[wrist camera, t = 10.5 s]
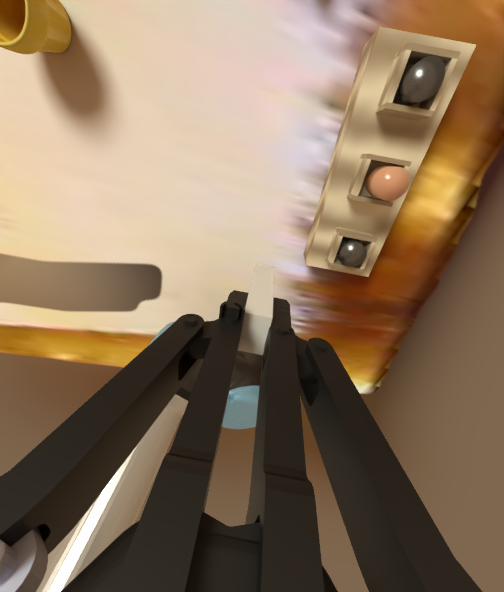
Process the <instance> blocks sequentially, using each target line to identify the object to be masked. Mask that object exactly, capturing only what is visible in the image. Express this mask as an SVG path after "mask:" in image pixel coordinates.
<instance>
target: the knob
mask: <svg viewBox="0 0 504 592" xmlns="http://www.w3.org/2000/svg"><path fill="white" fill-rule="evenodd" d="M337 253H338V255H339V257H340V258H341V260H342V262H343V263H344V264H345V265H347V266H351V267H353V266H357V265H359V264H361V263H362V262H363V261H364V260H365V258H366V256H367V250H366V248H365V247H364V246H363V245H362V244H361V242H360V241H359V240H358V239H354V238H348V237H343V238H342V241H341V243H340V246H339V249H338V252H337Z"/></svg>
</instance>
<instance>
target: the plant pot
mask: <svg viewBox="0 0 504 592" xmlns="http://www.w3.org/2000/svg"><path fill="white" fill-rule="evenodd" d="M70 42H71V25H70V21H69V18H68V15H67V13H66V11H65V9H64V7H63V6H62V4H61V3H60V1H59V0H0V47H2V48H5V49H8V50H11V51H13V52H17V53H21V54H33V53H35V52H37V51H44V52H53V53H62V52H64V51H65V50H66V49H67V48H68V47H69V45H70Z"/></svg>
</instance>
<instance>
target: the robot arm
mask: <svg viewBox="0 0 504 592" xmlns="http://www.w3.org/2000/svg"><path fill="white" fill-rule="evenodd" d="M274 272H275V267H272V266H267V265H262V264H257V263H255V267H254V271H253V276H252V280H251V285H250V289H249V293H245V292H240V291H235V290H234V291H233V292H231V293H230V294H229V297H228V300H227V302H224V303H222V304H221V306H220V314H219V319H217V320H215V321H206V322H204V320H203V318H202V317H200V316H199V315H195V314H186V315H183V316H181V317H180V318H179V319H178V320H177V321H175V322H172V323H169V324H168V325H166V326H165V327H164V328H163V329H162V330H161V331H160V332H159V333H158V334H157V335H156V337H155V338H154V339H153V340H152V341H151V343H150V344H149V345H148V346H147V348H145V349H144V350H143V351H142V352H141V353H140V354H139V355H138V356H137V357H135V358H134V359H133V360H132V361H131V362H130V363H129V364H128V365H127V366H125V367H124V368H123V369H122V370H121V371H120V372H119V373H118V374H117V375H116V376H114V378H112V379H111V380H110V381H109V382H108V383H107V384H105V385H104V386H103V387H102V388H101V389H100V390H99V391H98V392H97V393H95V394H94V395H93V396H92V397H91V398H90V399H89V400H88V401H87V402H85V403H84V404H83V405H82V406H81V407H80V408H79V409H78V410H77V411H75V412H74V413H73V414H72V415H71V416H70V417H69V418H68V419H67V420H66V421H65V422H63V423H62V424H61V425H60V426H59V427H58V428H57V429H56V430H54V431H53V432H52V433H51V434H50V435H49V436H48V437H47V438H45V439H44V440H43V441H42V442H41V443H40V444H39V445H38V446H37V447H35V448H34V449H33V450H32V451H31V452H30V453H29V454H28V455H27V456H26V457H24V458H23V459H22V460H21V461H20V462H19V463H18V464H17V465H15V466H14V467H13V468H12V469H11V470H10V471H8V472H7V473H5V474H4V475H2V476H0V592H338V591H337V590H336V588H335V586H334V584H333V582H332V580H331V578H330V577H329V575H328V573H327V572H326V570H325V569H324V567H323V566H322V564H321V563H322V562H321V554H320V544H319V533H318V524H317V514H316V503H315V495H314V489H313V486H312V483H311V482H310V481H309V480H308V478H307V475H306V465H305V453H304V441H303V428H302V417H301V404H300V396H301V399H302V402H303V404H304V407H305V410H306V413H307V416H308V419H309V422H310V425H311V428H312V431H313V434H314V436H315V440H316V442H317V445H318V448H319V451H320V454H321V457H322V460H323V463H324V466H325V469H326V471H327V474H328V477H329V480H330V483H331V486H332V489H333V492H334V495H335V498H336V501H337V504H338V507H339V510H340V512H341V515H342V518H343V521H344V524H345V527H346V530H347V533H348V536H349V539H350V542H351V545H352V547H353V550H354V553H355V556H356V559H357V562H358V564H359V567H360V570H361V572H362V575H363V577H364V580H365V583H366V585H367V588H368V590H369V592H482V591H481V589H480V588H479V587H478V586H477V585H476V583H475V582H474V581H473V580H472V578H471V577H470V576H469V575H468V574H467V572H466V571H465V570H464V569H463V567H462V566H461V565H460V564H459V562H458V561H457V560H456V559H455V558H454V556H453V554H452V553H451V551H450V549H449V547H448V546H447V544H446V542H445V540H444V539H443V537H442V535H441V533H440V532H439V530H438V528H437V527H436V525H435V524H434V522H433V520H432V518H431V516H430V514H429V513H428V511H427V509H426V508H425V506H424V504H423V502H422V501H421V499H420V497H419V496H418V494H417V492H416V490H415V489H414V487H413V485H412V483H411V482H410V480H409V478H408V477H407V475H406V473H405V471H404V470H403V468H402V466H401V465H400V463H399V461H398V459H397V458H396V456H395V454H394V452H393V451H392V449H391V448H390V446H389V444H388V442H387V441H386V439H385V437H384V435H383V434H382V432H381V430H380V428H379V427H378V425H377V423H376V421H375V420H374V418H373V416H372V415H371V413H370V411H369V410H368V408H367V406H366V404H365V403H364V401H363V399H362V397H361V396H360V394H359V392H358V390H357V389H356V387H355V385H354V384H353V382H352V380H351V378H350V377H349V375H348V373H347V372H346V370H345V368H344V366H343V365H342V363H341V361H340V359H339V358H338V356H337V354H336V353H335V351H334V349H333V347H332V346H331V345H330V344H329V343H328V342H327V341H325V340H323V339H321V338H311V339H309V341H305V340H303V339H301V338H299V337H297V336H296V335H295V332H294V330H293V329H292V328H291V316H290V304H289V303H288V302H287V300H284V299H279V298H274V297H273V296H274ZM182 416H183V418H182V420H181V417H182ZM180 420H181V423H180V426H179V429H178V431H177V434H176V437H175V440H174V442H173V445H172V447H171V449H170V451H169V453H167V454H166V456H165V457H164V455H165V453H166V451H167V449H168V446H169V444H170V442H171V440H172V437H173V435H174V433H175V431H176V429H177V426H178V424H179V422H180ZM255 426H256V430H255V442H254V453H253V464H252V476H251V486H250V487H251V488H250V497H249V506H248V511H247V517H246V523H245V525H240V526H234V527H229V526H226V525H225V524H223V523H221V522H220V521H218V520H216V519H214V518H213V517H211V516H209V515H208V514H206V513H204V511H205V506H206V501H207V496H208V491H209V486H210V481H211V476H212V472H213V467H214V462H215V457H216V453H217V448H218V443H219V438H220V433H221V428H222V427H225V428H229V429H246V428H252V427H255ZM163 458H164V459H163ZM162 460H163V462H162ZM161 462H162V464H161ZM160 464H161V466H160ZM159 467H160V469H159ZM158 469H159V472H158V474H157V477H156V479H155V482H154V485H153V487H152V490H151V493H150V495H149V498H148V500H147V503H146V505H145V508H144V511H143V513H142V516H141V519H140V521H138V522H136V523H135V521H136V518H137V516H138V514H139V512H140V509H141V507H142V505H143V502H144V500H145V498H146V496H147V493H148V491H149V489H150V487H151V485H152V482H153V480H154V478H155V476H156V473H157V471H158ZM134 523H135V524H134Z"/></svg>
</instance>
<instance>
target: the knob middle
mask: <svg viewBox="0 0 504 592" xmlns="http://www.w3.org/2000/svg"><path fill="white" fill-rule="evenodd" d="M409 183H410V176H409V173H408V172H407V170H406V169H404V168H402V167H394V166H379V167H377V168H375V169H374V170H372V171H371V173H370V174H369V175H368V177H367V179H366V190H367V192H368V193H369V194H370V195H372V196H375V197H377V198H380V199H382V200H385V201H393V200H396V199H398V198H399V197H401V196H402V195H403V194H404V193H405V192H406V190H407V188H408V186H409Z"/></svg>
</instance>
